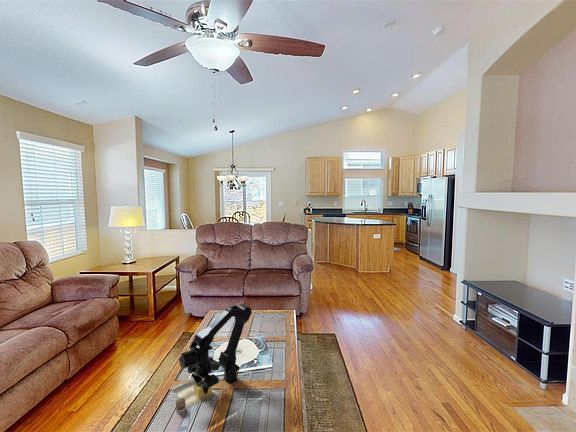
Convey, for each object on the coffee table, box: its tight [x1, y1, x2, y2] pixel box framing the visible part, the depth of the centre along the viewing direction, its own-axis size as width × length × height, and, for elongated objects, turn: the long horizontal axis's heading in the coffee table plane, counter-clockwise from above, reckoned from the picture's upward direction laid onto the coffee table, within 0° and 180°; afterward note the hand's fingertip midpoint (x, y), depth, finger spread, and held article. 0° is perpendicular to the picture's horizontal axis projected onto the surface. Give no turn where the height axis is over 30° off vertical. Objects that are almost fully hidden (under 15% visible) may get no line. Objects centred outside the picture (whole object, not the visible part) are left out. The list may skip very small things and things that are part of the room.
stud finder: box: [194, 380, 213, 398], centre depth 150 cm, size 4×7×5 cm, turn 134°
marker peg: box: [175, 397, 186, 414], centre depth 138 cm, size 4×4×5 cm
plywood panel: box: [169, 376, 217, 408], centre depth 152 cm, size 20×14×1 cm
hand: (203, 391), depth 150 cm, fingers closed on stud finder, 5 cm apart
